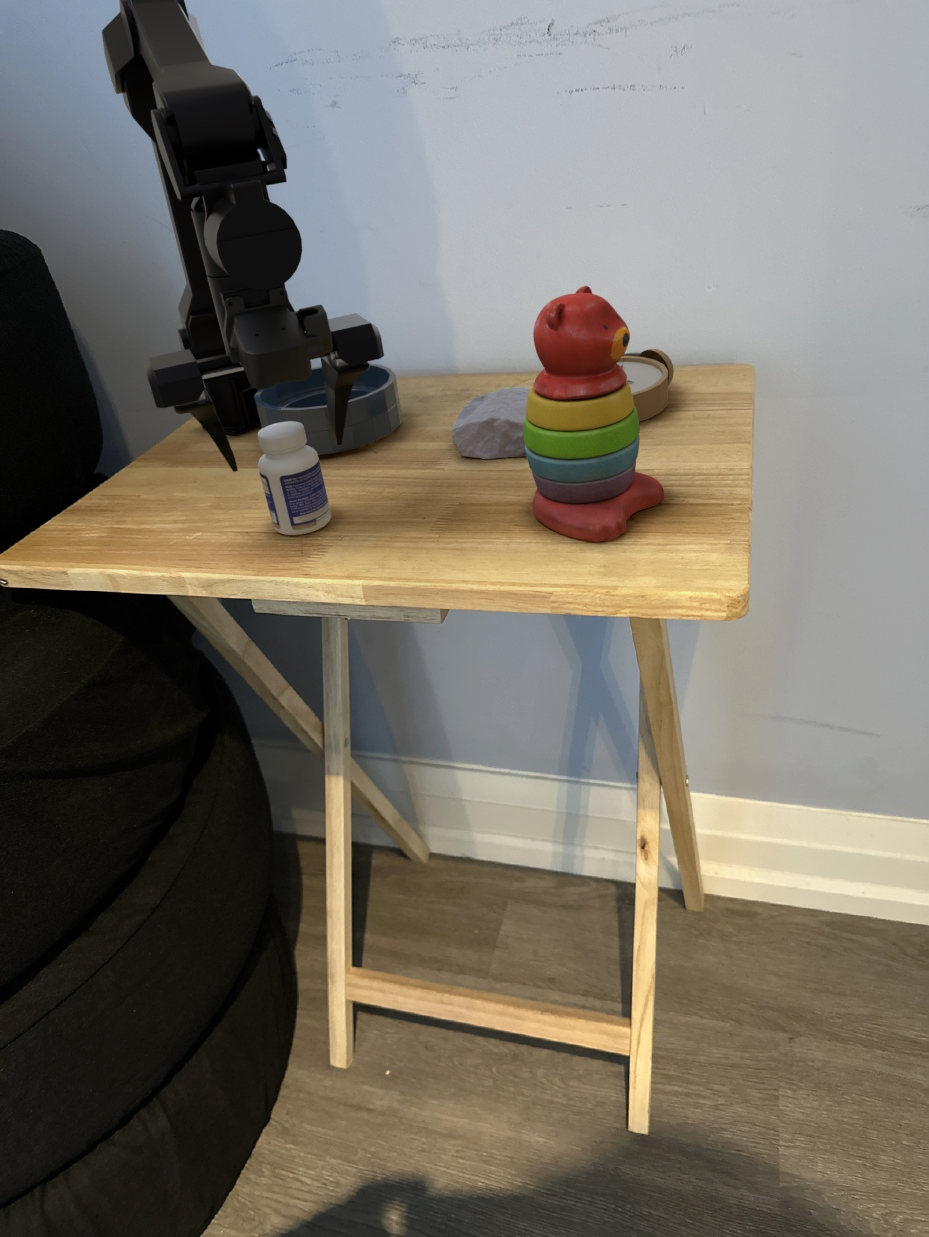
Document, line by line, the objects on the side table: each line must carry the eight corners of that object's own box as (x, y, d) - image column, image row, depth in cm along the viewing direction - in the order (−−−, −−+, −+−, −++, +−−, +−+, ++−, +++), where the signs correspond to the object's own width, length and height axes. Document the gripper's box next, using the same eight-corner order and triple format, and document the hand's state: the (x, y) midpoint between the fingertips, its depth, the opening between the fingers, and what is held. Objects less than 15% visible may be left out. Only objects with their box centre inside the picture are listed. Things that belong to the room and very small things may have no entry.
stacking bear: (609, 547, 72) (599, 316, 63) (504, 524, 78) (481, 309, 69) (673, 493, 79) (672, 278, 70) (572, 475, 85) (559, 274, 76)
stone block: (454, 476, 92) (550, 454, 89) (439, 431, 90) (537, 407, 87) (477, 436, 102) (565, 415, 99) (464, 395, 100) (553, 372, 97)
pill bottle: (341, 511, 84) (322, 418, 80) (315, 538, 80) (293, 441, 76) (290, 509, 86) (268, 418, 82) (262, 535, 82) (238, 440, 77)
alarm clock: (544, 399, 95) (586, 331, 105) (550, 440, 98) (590, 371, 108) (652, 401, 91) (685, 331, 100) (655, 445, 94) (687, 372, 104)
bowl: (238, 448, 102) (225, 400, 99) (334, 403, 112) (325, 358, 109) (334, 469, 93) (323, 417, 91) (430, 418, 103) (423, 369, 100)
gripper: (129, 312, 63) (191, 519, 71) (388, 260, 68) (419, 459, 76) (118, 286, 72) (175, 472, 80) (347, 242, 77) (379, 422, 85)
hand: (287, 457), depth 80 cm, fingers open, 9 cm apart
